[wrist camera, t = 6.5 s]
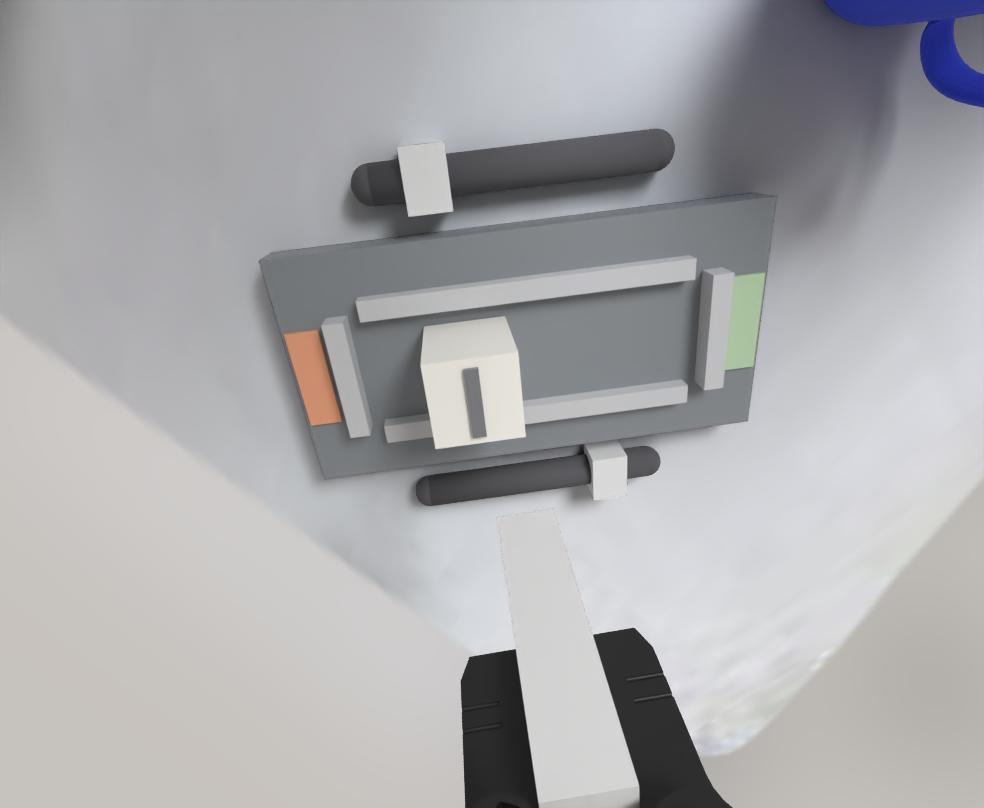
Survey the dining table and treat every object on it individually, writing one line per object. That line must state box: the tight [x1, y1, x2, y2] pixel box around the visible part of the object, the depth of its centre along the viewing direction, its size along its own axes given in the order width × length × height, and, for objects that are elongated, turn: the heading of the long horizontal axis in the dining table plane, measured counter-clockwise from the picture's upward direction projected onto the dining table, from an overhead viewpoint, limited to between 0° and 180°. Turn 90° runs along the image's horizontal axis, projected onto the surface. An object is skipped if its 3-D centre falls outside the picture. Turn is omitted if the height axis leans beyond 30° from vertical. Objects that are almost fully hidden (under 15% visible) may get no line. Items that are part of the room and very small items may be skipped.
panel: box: [259, 193, 777, 479], centre depth 27 cm, size 12×24×3 cm, turn 96°
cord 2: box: [416, 439, 660, 506], centre depth 32 cm, size 3×15×2 cm, turn 96°
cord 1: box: [351, 129, 675, 217], centre depth 24 cm, size 3×15×2 cm, turn 96°
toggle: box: [420, 316, 526, 449], centre depth 24 cm, size 4×4×5 cm
